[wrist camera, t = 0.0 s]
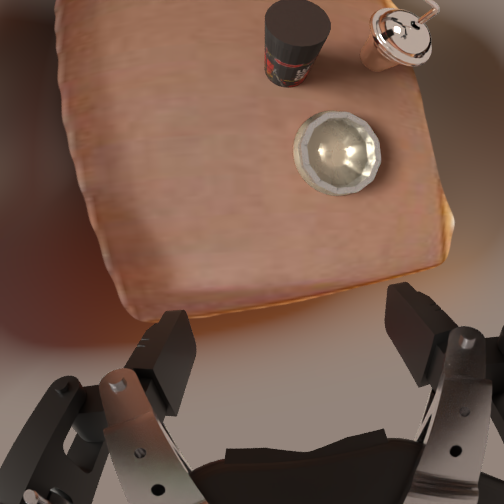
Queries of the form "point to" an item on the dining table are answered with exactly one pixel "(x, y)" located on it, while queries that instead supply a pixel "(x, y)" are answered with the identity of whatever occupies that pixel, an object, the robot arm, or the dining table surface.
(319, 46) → the deodorant
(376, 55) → the cup with straw
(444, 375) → the robot arm
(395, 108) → the dining table surface
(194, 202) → the dining table surface
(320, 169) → the silver bowl
